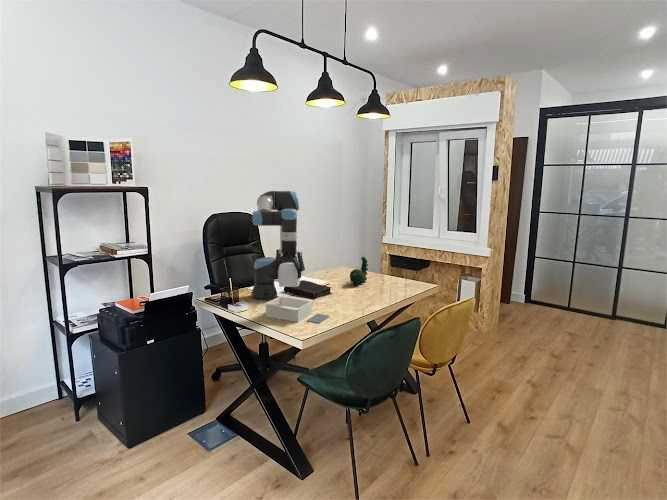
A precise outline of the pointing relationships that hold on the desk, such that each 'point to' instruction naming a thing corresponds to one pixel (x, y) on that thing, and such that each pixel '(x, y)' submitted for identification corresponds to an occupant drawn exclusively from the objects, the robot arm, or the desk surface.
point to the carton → (289, 308)
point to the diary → (309, 290)
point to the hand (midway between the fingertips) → (289, 282)
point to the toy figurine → (359, 273)
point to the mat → (318, 318)
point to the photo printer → (287, 275)
